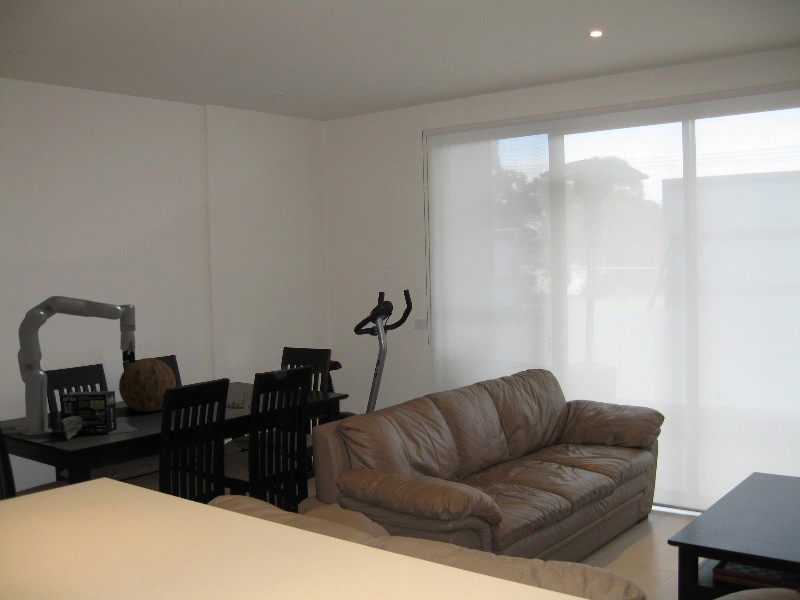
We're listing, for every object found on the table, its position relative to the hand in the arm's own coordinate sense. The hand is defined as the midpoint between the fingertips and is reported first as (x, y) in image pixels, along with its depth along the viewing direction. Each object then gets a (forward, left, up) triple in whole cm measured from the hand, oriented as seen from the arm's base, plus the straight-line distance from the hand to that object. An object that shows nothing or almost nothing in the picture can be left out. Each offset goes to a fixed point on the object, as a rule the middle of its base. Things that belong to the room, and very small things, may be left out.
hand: (128, 361), depth 405 cm
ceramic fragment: (-34, -27, -31) cm, 54 cm away
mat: (-12, -18, -31) cm, 38 cm away
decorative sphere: (+17, +23, -31) cm, 42 cm away
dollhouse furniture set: (+63, +2, -32) cm, 70 cm away
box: (-24, -18, -31) cm, 43 cm away
